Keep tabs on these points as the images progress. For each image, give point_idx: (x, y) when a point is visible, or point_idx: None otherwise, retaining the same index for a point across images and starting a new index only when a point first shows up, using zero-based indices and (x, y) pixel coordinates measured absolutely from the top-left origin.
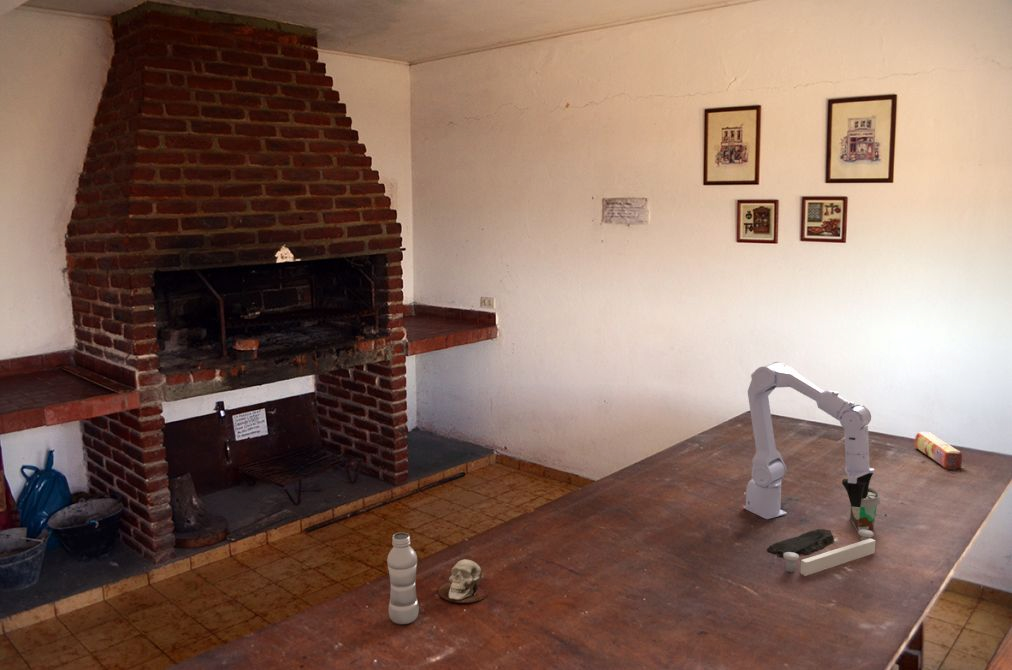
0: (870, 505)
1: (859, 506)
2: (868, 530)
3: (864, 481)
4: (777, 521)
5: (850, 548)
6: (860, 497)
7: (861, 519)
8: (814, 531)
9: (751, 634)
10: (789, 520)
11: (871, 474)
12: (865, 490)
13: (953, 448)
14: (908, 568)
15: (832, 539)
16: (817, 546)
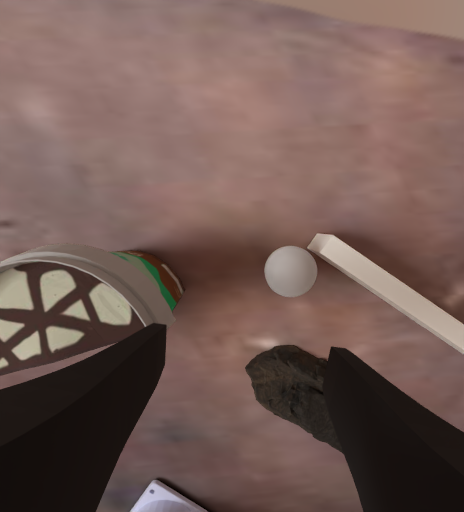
0: (147, 283)
1: (351, 353)
2: (269, 264)
3: (97, 424)
4: (215, 492)
5: (439, 308)
6: (407, 398)
7: (173, 295)
8: (301, 414)
9: None
10: (193, 465)
11: (2, 458)
12: (143, 356)
13: None
14: (386, 132)
15: (288, 352)
16: None
